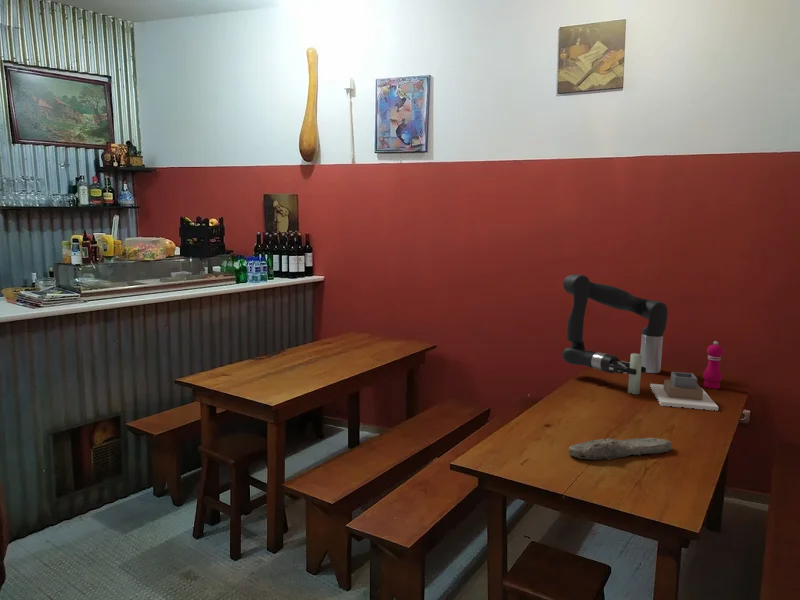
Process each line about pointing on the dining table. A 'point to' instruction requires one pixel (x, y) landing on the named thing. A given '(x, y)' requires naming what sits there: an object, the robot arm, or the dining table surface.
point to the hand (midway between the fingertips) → (640, 371)
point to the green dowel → (635, 379)
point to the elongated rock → (618, 448)
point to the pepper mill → (713, 367)
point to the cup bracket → (683, 392)
